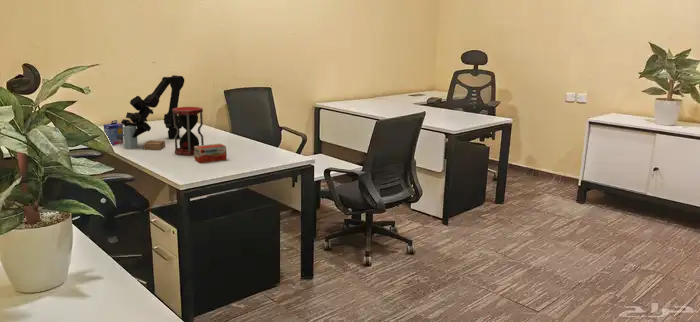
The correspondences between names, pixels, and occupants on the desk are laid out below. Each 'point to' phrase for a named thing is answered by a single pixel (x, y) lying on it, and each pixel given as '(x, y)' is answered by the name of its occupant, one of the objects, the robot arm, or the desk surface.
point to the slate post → (130, 137)
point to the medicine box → (210, 153)
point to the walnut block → (154, 145)
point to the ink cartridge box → (114, 132)
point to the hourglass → (187, 129)
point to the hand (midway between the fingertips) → (128, 136)
